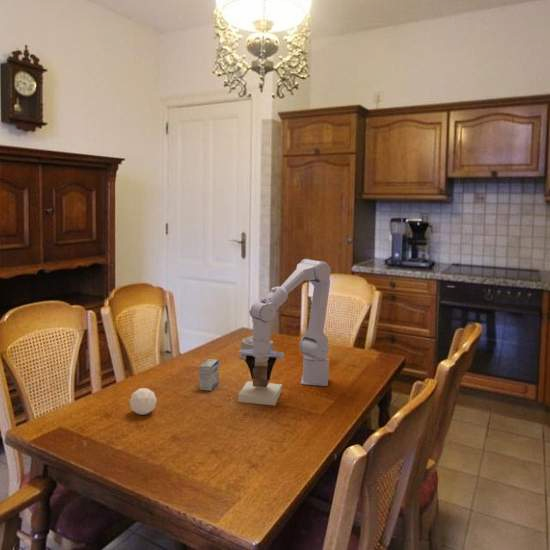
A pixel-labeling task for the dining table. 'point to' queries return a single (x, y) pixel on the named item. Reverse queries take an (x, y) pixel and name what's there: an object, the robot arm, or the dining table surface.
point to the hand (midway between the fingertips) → (260, 378)
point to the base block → (260, 393)
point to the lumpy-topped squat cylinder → (248, 344)
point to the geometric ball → (143, 401)
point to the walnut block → (260, 375)
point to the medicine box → (209, 374)
